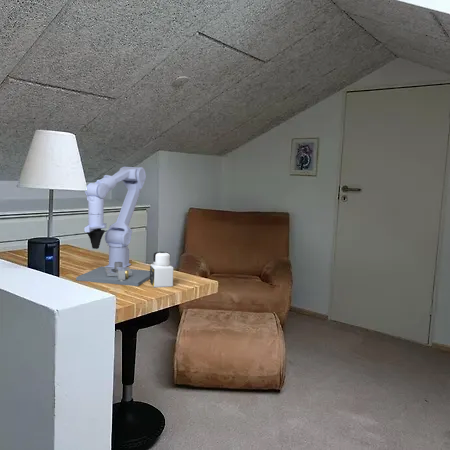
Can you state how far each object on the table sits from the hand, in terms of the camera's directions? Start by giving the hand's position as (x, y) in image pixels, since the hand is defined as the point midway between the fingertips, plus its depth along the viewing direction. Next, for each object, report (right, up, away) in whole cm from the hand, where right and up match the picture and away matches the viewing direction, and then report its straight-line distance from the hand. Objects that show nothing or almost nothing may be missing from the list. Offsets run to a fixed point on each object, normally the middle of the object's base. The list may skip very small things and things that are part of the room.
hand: (95, 248), depth 176 cm
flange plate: (+11, -10, -7) cm, 16 cm away
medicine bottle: (+27, -13, -12) cm, 33 cm away
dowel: (+14, -11, -11) cm, 21 cm away
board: (+10, -11, -4) cm, 15 cm away
